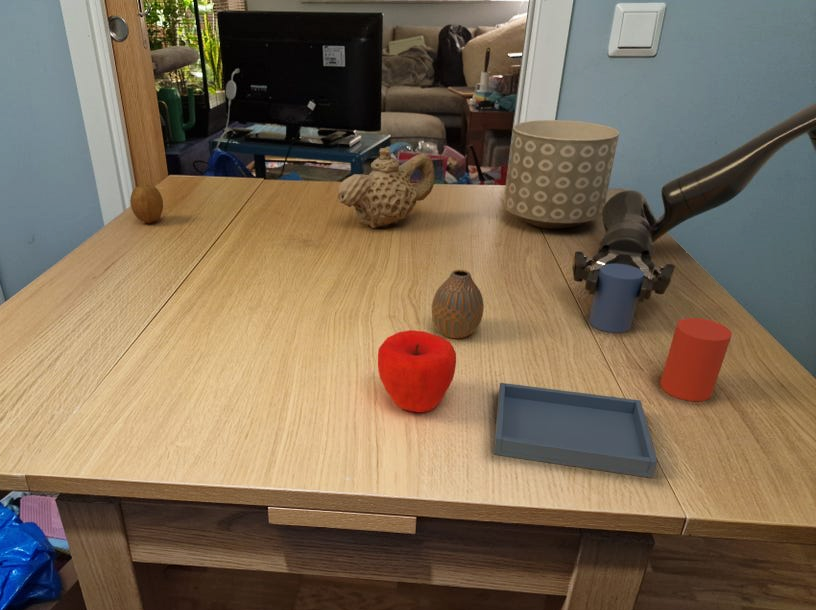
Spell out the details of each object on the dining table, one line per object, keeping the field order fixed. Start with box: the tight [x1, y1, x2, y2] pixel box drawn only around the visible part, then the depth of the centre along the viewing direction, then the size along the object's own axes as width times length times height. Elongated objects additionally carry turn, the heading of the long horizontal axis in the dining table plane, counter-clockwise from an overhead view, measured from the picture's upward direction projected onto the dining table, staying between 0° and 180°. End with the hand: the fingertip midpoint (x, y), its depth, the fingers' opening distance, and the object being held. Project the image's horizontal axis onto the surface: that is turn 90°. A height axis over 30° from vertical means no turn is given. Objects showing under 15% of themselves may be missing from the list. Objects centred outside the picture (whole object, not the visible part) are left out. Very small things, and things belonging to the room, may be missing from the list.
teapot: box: [337, 146, 436, 229], centre depth 129 cm, size 21×12×15 cm, turn 118°
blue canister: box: [588, 264, 644, 334], centre depth 92 cm, size 6×6×8 cm
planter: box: [503, 119, 620, 230], centre depth 129 cm, size 19×19×18 cm
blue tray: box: [493, 382, 658, 479], centre depth 70 cm, size 15×11×2 cm
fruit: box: [129, 182, 164, 225], centre depth 131 cm, size 6×6×8 cm
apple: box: [377, 329, 457, 413], centre depth 74 cm, size 9×9×8 cm
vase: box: [431, 269, 485, 339], centre depth 89 cm, size 7×7×9 cm
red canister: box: [659, 317, 733, 402], centre depth 77 cm, size 6×6×8 cm
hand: (617, 291), depth 89 cm, fingers closed on blue canister, 5 cm apart
